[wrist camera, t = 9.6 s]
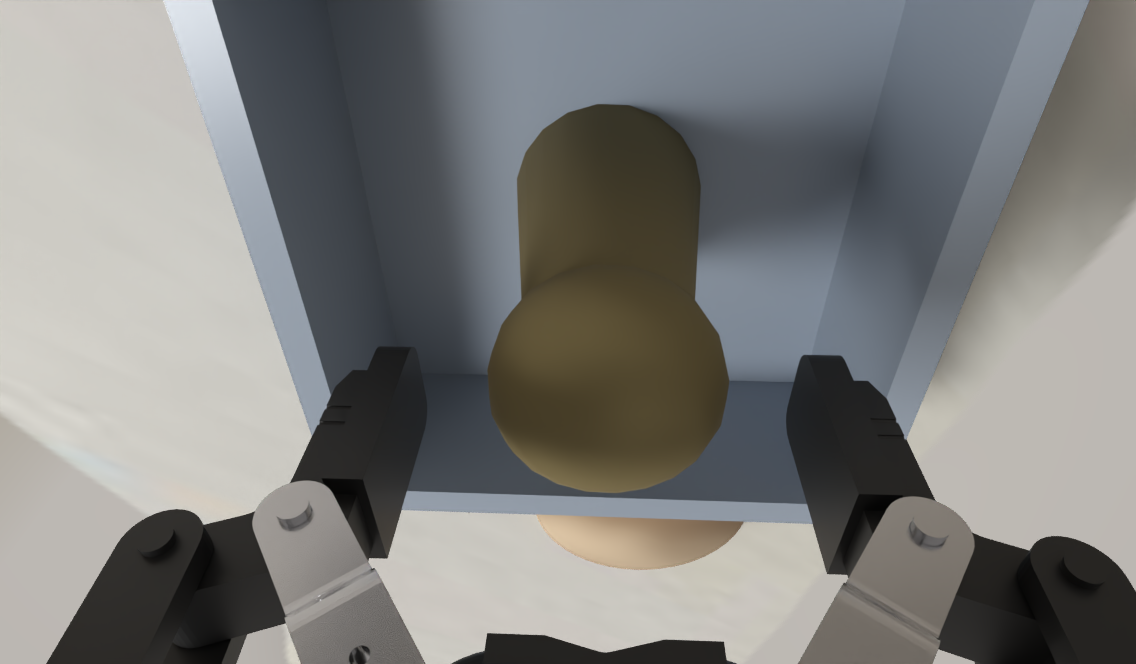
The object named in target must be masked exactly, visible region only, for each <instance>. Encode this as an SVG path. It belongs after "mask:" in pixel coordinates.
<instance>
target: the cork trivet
mask: <svg viewBox="0 0 1136 664" xmlns="http://www.w3.org/2000/svg"><path fill="white" fill-rule="evenodd" d="M536 515H537V514H536ZM537 518H538V520H539V522H540V524H541V526H542V527H543V529H544V530H545V532H546V533H547V534H548V535H549V536H550V537H551V538H552V539H553V540H554V541H555V542H556V543H557V544H558V545H560V546H561V547H563V548H564V549H565V550H567V551H569V552H571V553H572V554H574V555H576V556H578V557H581V558H583V559H585V560H588V561H591V562H594V563H597V564H601V565H605V566H609V567H615V568H622V569H634V570H648V569H661V568H667V567H673V566H677V565H682V564H686V563H689V562H692V561H695V560H697V559H700V558H702V557H704V556H706V555H708V554H710V553H712V552H714V551H715V550H717V549H719V548H720V547H721V546H723V545H724V544H726V543H727V542H728V541H729V540H730V539H731V538H732V537H733V536H734V535H735V534H736V532H737V531H738V530H739V529H740V527H741V525H742V524H743V521H714V520H684V519H655V518H625V517H596V516H566V515H537Z"/></svg>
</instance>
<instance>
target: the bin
mask: <svg viewBox="0 0 1136 664" xmlns="http://www.w3.org/2000/svg"><path fill="white" fill-rule="evenodd" d="M163 1H164V4H165V7H166V10H167V12H168V15H169V18H170V21H171V24H172V27H173V30H174V33H175V36H176V39H177V42H178V45H179V48H180V51H181V54H182V56H183V59H184V62H185V65H186V68H187V71H188V74H189V77H190V80H191V83H192V86H193V89H194V92H195V95H196V98H197V100H198V103H199V106H200V109H201V112H202V115H203V118H204V121H205V124H206V127H207V130H208V133H209V136H210V139H211V142H212V144H213V147H214V150H215V153H216V156H217V159H218V162H219V165H220V168H221V171H222V174H223V177H224V180H225V183H226V185H227V188H228V191H229V194H230V197H231V200H232V203H233V206H234V209H235V212H236V215H237V218H238V221H239V224H240V227H241V229H242V232H243V235H244V238H245V241H246V244H247V247H248V250H249V253H250V256H251V259H252V262H253V265H254V268H255V271H256V273H257V276H258V279H259V282H260V285H261V288H262V291H263V294H264V297H265V300H266V303H267V306H268V309H269V312H270V315H271V317H272V320H273V323H274V326H275V329H276V332H277V335H278V338H279V341H280V344H281V347H282V350H283V353H284V356H285V359H286V361H287V364H288V367H289V370H290V373H291V376H292V379H293V382H294V385H295V388H296V391H297V394H298V397H299V400H300V403H301V405H302V408H303V411H304V414H305V417H306V420H307V423H308V426H309V429H310V432H311V435H313V433H314V431H315V429H316V427H317V425H319V423H320V422H319V420H320V418H321V416H322V414H323V412H324V410H325V409H326V408H327V406H326V405H327V403H328V401H329V399H330V397H331V395H332V393H333V390H334V388H335V386H336V385H337V384H339V383H340V382H341V381H342V380H343V379H344V378H345V377H346V376H347V375H348V374H349V373H350V372H351V371H352V370H367V369H368V367H369V365H370V362H371V360H372V358H373V355H374V353H375V351H376V349H377V348H378V347H379V346H393V347H415V349H416V350H417V354H418V358H419V363H420V368H421V373H422V378H423V384H424V389H425V394H426V399H427V421H426V427H425V431H424V434H423V438H422V441H421V444H420V448H419V451H418V455H417V458H416V462H415V465H414V468H413V472H412V475H411V479H410V482H409V486H408V489H407V493H406V496H405V499H404V503H403V506H402V510H419V511H448V512H478V513H507V514H537V515H566V516H596V517H625V518H655V519H684V520H714V521H743V522H773V523H802V524H813V523H812V520H811V516H810V513H809V509H808V506H807V502H806V499H805V495H804V492H803V488H802V485H801V482H800V478H799V475H798V471H797V468H796V464H795V461H794V457H793V454H792V450H791V447H790V443H789V440H788V436H787V429H786V413H787V407H788V403H789V399H790V395H791V391H792V387H793V384H794V380H795V376H796V372H797V368H798V364H799V361H800V359H801V357H802V356H803V355H840V356H842V357H843V358H844V360H845V362H846V364H847V366H848V369H849V371H850V373H851V375H852V378H853V380H854V381H869V382H870V383H871V384H872V385H873V386H874V387H875V388H876V389H877V390H878V391H879V392H880V393H881V394H882V395H883V396H885V397H886V398H887V400H888V402H889V404H890V406H891V408H892V410H893V413H894V415H895V417H896V422H897V423H899V425H900V427H901V429H902V432H903V434H904V439H907V436H908V434H909V432H910V429H911V427H912V424H913V422H914V420H915V417H916V415H917V412H918V410H919V408H920V405H921V403H922V400H923V398H924V396H925V393H926V391H927V388H928V386H929V384H930V381H931V379H932V376H933V374H934V372H935V369H936V367H937V364H938V362H939V360H940V357H941V355H942V352H943V350H944V348H945V345H946V343H947V340H948V338H949V336H950V333H951V331H952V329H953V326H954V324H955V321H956V319H957V317H958V314H959V312H960V309H961V307H962V305H963V302H964V300H965V297H966V295H967V293H968V290H969V288H970V285H971V283H972V281H973V278H974V276H975V273H976V271H977V269H978V266H979V264H980V261H981V259H982V257H983V254H984V252H985V249H986V247H987V245H988V242H989V240H990V237H991V235H992V233H993V230H994V228H995V226H996V223H997V221H998V218H999V216H1000V214H1001V211H1002V209H1003V206H1004V204H1005V202H1006V199H1007V197H1008V194H1009V192H1010V190H1011V187H1012V185H1013V182H1014V180H1015V178H1016V175H1017V173H1018V170H1019V168H1020V166H1021V163H1022V161H1023V158H1024V156H1025V154H1026V151H1027V149H1028V146H1029V144H1030V142H1031V139H1032V137H1033V134H1034V132H1035V130H1036V127H1037V125H1038V123H1039V120H1040V118H1041V115H1042V113H1043V111H1044V108H1045V106H1046V103H1047V101H1048V99H1049V96H1050V94H1051V91H1052V89H1053V87H1054V84H1055V82H1056V79H1057V77H1058V75H1059V72H1060V70H1061V67H1062V65H1063V63H1064V60H1065V58H1066V55H1067V53H1068V51H1069V48H1070V46H1071V43H1072V41H1073V39H1074V36H1075V34H1076V31H1077V29H1078V27H1079V24H1080V22H1081V20H1082V17H1083V15H1084V12H1085V10H1086V8H1087V5H1088V3H1089V0H163ZM596 104H611V105H630V106H633V107H635V108H638V109H641V110H643V111H646V112H649V113H651V114H654V115H657V116H659V117H660V118H661V119H662V120H664V121H665V122H666V123H667V124H668V125H670V126H671V127H672V128H673V129H675V130H676V131H677V132H678V133H679V134H681V136H682V137H683V139H684V141H685V142H686V144H687V146H688V147H689V149H690V151H691V152H692V154H693V155H694V157H695V159H696V164H697V169H698V174H699V179H700V184H701V194H700V214H699V233H698V253H697V273H696V293H695V301H696V302H697V304H698V305H699V306H700V308H701V309H702V311H703V312H704V314H705V315H706V316H707V318H708V319H709V321H710V322H711V324H712V325H713V327H714V328H715V329H716V331H717V332H718V334H719V336H720V340H721V344H722V348H723V352H724V357H725V362H726V367H727V372H728V376H729V388H728V394H727V400H726V405H725V409H724V414H723V418H722V423H721V427H720V428H719V429H718V431H717V432H716V434H715V435H714V437H713V438H712V439H711V441H710V442H709V444H708V445H707V447H706V448H705V450H704V451H703V452H702V454H701V455H700V457H699V458H698V459H697V461H696V462H694V463H693V464H692V465H690V466H689V467H688V468H686V469H685V470H684V471H682V472H681V473H680V474H678V475H677V476H676V477H674V478H672V479H669V480H667V481H664V482H662V483H659V484H657V485H654V486H652V487H649V488H647V489H640V490H634V491H628V492H621V493H603V492H586V491H582V490H578V489H574V488H571V487H567V486H563V485H559V484H556V483H554V482H553V481H551V480H549V479H547V478H545V477H543V476H541V475H540V474H538V473H536V472H534V471H532V470H531V469H530V468H529V467H528V466H527V465H526V464H525V463H524V462H523V461H522V460H521V459H520V458H518V457H517V456H516V455H515V454H514V453H513V452H512V450H511V449H510V447H509V446H508V444H507V443H506V442H505V440H504V438H503V436H502V434H501V432H500V430H499V428H498V426H497V424H496V422H495V420H494V418H493V416H492V414H491V407H490V399H489V387H488V372H487V369H488V365H489V361H490V357H491V353H492V350H493V347H494V344H495V342H496V339H497V336H498V333H499V331H500V328H501V325H502V324H503V322H504V321H505V319H506V318H507V317H508V315H509V314H510V312H511V311H512V310H513V309H514V308H515V307H516V305H517V304H518V303H519V302H520V301H521V278H520V253H519V227H518V201H517V177H518V173H519V170H520V167H521V164H522V161H523V158H524V155H525V152H526V151H527V149H528V148H529V147H530V146H531V144H532V143H533V142H534V140H535V139H536V138H537V136H538V135H539V134H540V132H541V131H542V130H543V129H544V128H546V127H547V126H549V125H550V124H551V123H553V122H554V121H556V120H557V119H559V118H560V117H562V116H563V115H565V114H566V113H568V112H571V111H575V110H578V109H582V108H585V107H589V106H592V105H596Z"/></svg>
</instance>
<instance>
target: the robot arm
mask: <svg viewBox="0 0 1136 664" xmlns="http://www.w3.org/2000/svg"><path fill="white" fill-rule="evenodd" d="M326 406H327V408H326V409H325V410H324V412H323V414H322V416H321V418H320V420H319V422H320V423H319V425H317V427H316V429H315V431H314V433H313V435H312V438H311V440H310V442H309V444H308V446H307V448H306V450H305V453H304V455H303V457H302V459H301V461H300V463H299V465H298V468H297V470H296V472H295V474H294V476H293V478H292V480H291V482H290V483H289V484H287V485H284V486H282V487H280V488H278V489H276V490H275V491H273V492H272V493H270V494H269V495H268V496H267V497H266V498H264V500H263V501H262V502H261V503H260V504H259V506H258V507H257V509H256V511H255V512H252V513H250V514H246V515H243V516H239V517H235V518H231V519H226V520H222V521H218V522H214V523H210V524H206V525H203V523H202V521H201V520H200V518H199V517H198V516H197V515H196V514H194V513H192V512H190V511H187V510H179V509H175V510H167V511H163V512H159V513H156V514H154V515H152V516H149V517H147V518H145V519H144V520H142V521H140V522H139V523H137V524H136V525H135V526H133V527H132V528H131V529H130V530H129V531H128V532H126V534H125V535H124V536H123V537H122V538H121V539H120V541H119V542H118V544H117V545H116V547H115V549H114V551H113V552H112V554H111V556H110V557H109V559H108V561H107V562H106V564H105V566H104V567H103V569H102V571H101V572H100V574H99V576H98V577H97V579H96V581H95V583H94V584H93V586H92V588H91V589H90V591H89V593H88V594H87V597H86V598H85V599H84V601H83V603H82V605H81V606H80V608H79V609H78V611H77V613H76V615H75V616H74V618H73V620H72V621H71V623H70V625H69V627H68V628H67V630H66V631H65V633H64V635H63V637H62V638H61V640H60V642H59V643H58V645H57V647H56V649H55V650H54V652H53V653H52V655H51V657H50V658H49V660H48V662H47V663H46V664H236V663H237V660H238V657H239V655H240V652H241V649H242V647H243V644H244V641H245V639H246V636H247V634H249V633H253V632H256V631H260V630H263V629H267V628H271V627H274V626H277V625H281V624H285V623H286V625H287V627H288V630H289V633H290V636H291V638H292V641H293V643H294V646H295V649H296V651H297V654H298V657H299V659H300V662H301V664H425V662H424V660H423V658H422V656H421V654H420V652H419V650H418V649H417V647H416V645H415V643H414V641H413V639H412V637H411V635H410V633H409V631H408V629H407V628H406V626H405V624H404V622H403V620H402V618H401V616H400V614H399V612H398V610H397V608H396V607H395V605H394V603H393V601H392V599H391V597H390V595H389V593H388V591H387V589H386V587H385V586H384V584H383V582H382V580H381V578H380V576H379V574H378V573H377V571H376V570H375V568H373V569H372V568H371V566H370V564H369V562H368V560H369V558H388V554H389V551H390V548H391V544H392V541H393V537H394V534H395V530H396V527H397V523H398V520H399V517H400V513H401V510H402V506H403V503H404V499H405V496H406V493H407V489H408V486H409V482H410V479H411V475H412V472H413V468H414V465H415V462H416V458H417V455H418V451H419V448H420V444H421V441H422V438H423V434H424V431H425V427H426V421H427V399H426V394H425V389H424V384H423V378H422V373H421V368H420V363H419V358H418V354H417V350H416V349H415V347H393V346H379V347H378V348H377V349H376V351H375V353H374V355H373V358H372V360H371V362H370V365H369V367H368V369H367V370H352V371H351V372H350V373H349V374H348V375H347V376H346V377H345V378H344V379H343V380H342V381H341V382H340V383H339V384H337V385H336V386H335V388H334V390H333V393H332V395H331V397H330V399H329V401H328V403H327V405H326ZM786 429H787V436H788V440H789V443H790V447H791V450H792V454H793V457H794V461H795V464H796V468H797V471H798V475H799V478H800V482H801V485H802V488H803V492H804V495H805V499H806V502H807V506H808V509H809V513H810V516H811V520H812V523H813V527H814V530H815V533H816V537H817V540H818V544H819V547H820V551H821V554H822V558H823V561H824V565H825V568H826V572H827V574H842V575H848V580H847V582H846V583H844V584H843V585H842V587H841V588H840V590H839V592H838V593H837V595H836V597H835V598H834V601H833V602H832V604H831V606H830V607H829V609H828V611H827V613H826V615H825V616H824V618H823V620H822V622H821V624H820V625H819V627H818V629H817V631H816V632H815V634H814V636H813V638H812V640H811V641H810V643H809V645H808V647H807V649H806V650H805V652H804V654H803V656H802V657H801V659H800V661H799V663H798V664H932V663H933V661H934V658H935V656H936V653H937V651H938V649H940V650H942V651H945V652H948V653H951V654H954V655H957V656H960V657H963V658H966V659H969V660H972V661H974V662H975V664H1136V591H1135V590H1134V588H1133V587H1132V585H1131V583H1130V582H1129V580H1128V578H1127V577H1126V575H1125V574H1124V573H1123V571H1122V570H1121V569H1120V568H1119V566H1118V565H1117V564H1116V563H1115V562H1113V561H1112V560H1111V559H1110V558H1109V557H1108V556H1106V555H1105V554H1104V553H1102V552H1101V551H1099V550H1097V549H1096V548H1094V547H1092V546H1090V545H1088V544H1086V543H1084V542H1081V541H1078V540H1076V539H1072V538H1068V537H1061V536H1051V537H1045V538H1043V539H1040V540H1039V541H1037V542H1036V543H1035V544H1034V545H1033V547H1032V548H1031V549H1030V551H1028V550H1025V549H1022V548H1018V547H1015V546H1011V545H1008V544H1004V543H1001V542H997V541H994V540H990V539H987V538H984V537H981V536H979V535H976V534H974V533H972V532H971V530H970V528H969V527H968V525H967V524H966V522H965V521H964V520H963V519H962V518H961V517H960V516H959V515H958V514H957V513H956V512H954V511H953V510H951V509H950V508H948V507H947V506H945V505H943V504H941V503H939V502H937V501H936V500H935V499H934V497H933V495H932V493H931V490H930V488H929V486H928V484H927V482H926V480H925V478H924V476H923V474H922V471H921V469H920V467H919V465H918V463H917V461H916V459H915V457H914V455H913V453H912V450H911V448H910V446H909V444H908V442H907V440H906V439H904V434H903V432H902V429H901V427H900V425H899V423H897V422H896V417H895V415H894V413H893V410H892V408H891V406H890V404H889V402H888V400H887V398H886V397H885V396H883V395H882V394H881V393H880V392H879V391H878V390H877V389H876V388H875V387H874V386H873V385H872V384H871V383H870V382H869V381H854V380H853V378H852V375H851V373H850V371H849V369H848V366H847V364H846V362H845V360H844V358H843V357H842V356H840V355H803V356H802V357H801V359H800V361H799V364H798V368H797V372H796V376H795V380H794V384H793V387H792V391H791V395H790V399H789V403H788V407H787V413H786ZM452 664H736V663H733V662H730V661H727V660H726V654H725V647H724V642H716V641H688V640H661V641H657V642H653V643H648V644H644V645H640V646H635V647H631V648H626V649H622V650H618V651H613V652H608V653H604V652H598V651H595V650H591V649H588V648H585V647H581V646H578V645H575V644H572V643H568V642H565V641H562V640H558V639H555V638H552V637H548V636H545V635H520V634H492V633H487V639H486V646H485V651H483V652H479V653H475V654H472V655H470V656H467V657H464V658H462V659H460V660H458V661H456V662H454V663H452Z"/></svg>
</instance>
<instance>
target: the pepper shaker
mask: <svg viewBox="0 0 1136 664" xmlns="http://www.w3.org/2000/svg"><path fill="white" fill-rule="evenodd" d="M700 194H701V184H700V179H699V174H698V169H697V164H696V159H695V157H694V155H693V154H692V152H691V151H690V149H689V147H688V146H687V144H686V142H685V141H684V139H683V137H682V136H681V134H679V133H678V132H677V131H676V130H675V129H673V128H672V127H671V126H670V125H668V124H667V123H666V122H665V121H664V120H662V119H661V118H660V117H659V116H657V115H654V114H651V113H649V112H646V111H643V110H641V109H638V108H635V107H633V106H630V105H611V104H596V105H592V106H589V107H585V108H582V109H578V110H575V111H571V112H568V113H566V114H565V115H563V116H562V117H560V118H559V119H557V120H556V121H554V122H553V123H551V124H550V125H549V126H547V127H546V128H544V129H543V130H542V131H541V132H540V134H539V135H538V136H537V138H536V139H535V140H534V142H533V143H532V144H531V146H530V147H529V148H528V149H527V151H526V152H525V155H524V158H523V161H522V164H521V167H520V170H519V173H518V177H517V201H518V227H519V253H520V278H521V301H520V302H519V303H518V304H517V305H516V307H515V308H514V309H513V310H512V311H511V312H510V314H509V315H508V317H507V318H506V319H505V321H504V322H503V324H502V325H501V328H500V331H499V333H498V336H497V339H496V342H495V344H494V347H493V350H492V353H491V357H490V361H489V365H488V369H487V372H488V387H489V399H490V407H491V414H492V416H493V418H494V420H495V422H496V424H497V426H498V428H499V430H500V432H501V434H502V436H503V438H504V440H505V442H506V443H507V444H508V446H509V447H510V449H511V450H512V452H513V453H514V454H515V455H516V456H517V457H518V458H520V459H521V460H522V461H523V462H524V463H525V464H526V465H527V466H528V467H529V468H530V469H531V470H532V471H534V472H536V473H538V474H540V475H541V476H543V477H545V478H547V479H549V480H551V481H553V482H554V483H556V484H559V485H563V486H567V487H571V488H574V489H578V490H582V491H586V492H603V493H621V492H628V491H634V490H640V489H647V488H649V487H652V486H654V485H657V484H659V483H662V482H664V481H667V480H669V479H672V478H674V477H676V476H677V475H678V474H680V473H681V472H682V471H684V470H685V469H686V468H688V467H689V466H690V465H692V464H693V463H694V462H696V461H697V459H698V458H699V457H700V455H701V454H702V452H703V451H704V450H705V448H706V447H707V445H708V444H709V442H710V441H711V439H712V438H713V437H714V435H715V434H716V432H717V431H718V429H719V428H720V427H721V423H722V418H723V414H724V409H725V405H726V400H727V394H728V388H729V376H728V372H727V367H726V362H725V357H724V352H723V348H722V344H721V340H720V336H719V334H718V332H717V331H716V329H715V328H714V327H713V325H712V324H711V322H710V321H709V319H708V318H707V316H706V315H705V314H704V312H703V311H702V309H701V308H700V306H699V305H698V304H697V302H696V301H695V293H696V273H697V253H698V233H699V214H700Z"/></svg>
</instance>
